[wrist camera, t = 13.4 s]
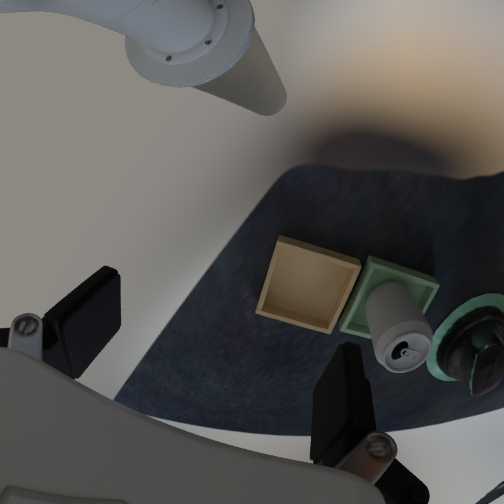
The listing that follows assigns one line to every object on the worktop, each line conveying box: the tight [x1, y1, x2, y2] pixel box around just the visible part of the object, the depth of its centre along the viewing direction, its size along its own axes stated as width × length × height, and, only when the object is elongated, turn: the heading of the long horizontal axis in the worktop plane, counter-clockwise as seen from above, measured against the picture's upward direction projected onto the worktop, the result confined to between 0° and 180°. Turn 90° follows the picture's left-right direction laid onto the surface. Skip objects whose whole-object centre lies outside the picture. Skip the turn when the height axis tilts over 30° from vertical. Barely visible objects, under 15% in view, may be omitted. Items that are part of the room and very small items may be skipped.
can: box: [364, 281, 433, 373], centre depth 34 cm, size 8×8×12 cm
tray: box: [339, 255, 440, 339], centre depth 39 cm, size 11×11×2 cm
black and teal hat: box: [426, 293, 504, 397], centre depth 37 cm, size 15×19×20 cm
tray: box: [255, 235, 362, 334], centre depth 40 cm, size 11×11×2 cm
